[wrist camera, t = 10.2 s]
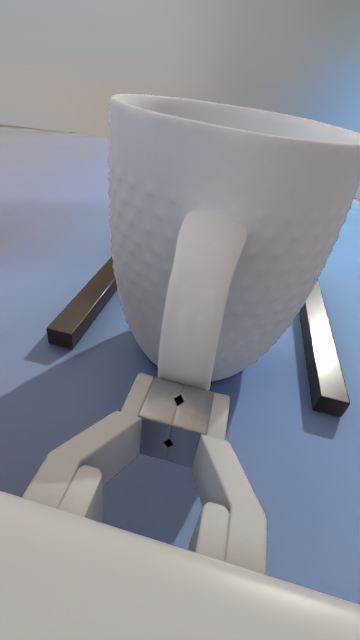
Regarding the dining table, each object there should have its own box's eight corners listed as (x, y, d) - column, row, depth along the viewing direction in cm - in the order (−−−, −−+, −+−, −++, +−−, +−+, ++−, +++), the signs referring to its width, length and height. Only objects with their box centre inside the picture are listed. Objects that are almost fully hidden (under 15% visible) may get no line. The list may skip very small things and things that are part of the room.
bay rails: (48, 343, 20) (45, 328, 19) (132, 245, 33) (132, 233, 32) (341, 417, 18) (350, 403, 18) (311, 283, 31) (316, 272, 30)
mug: (291, 514, 14) (526, 201, 6) (42, 454, 15) (-37, 104, 7) (272, 314, 26) (343, 122, 18) (136, 287, 26) (147, 90, 19)
